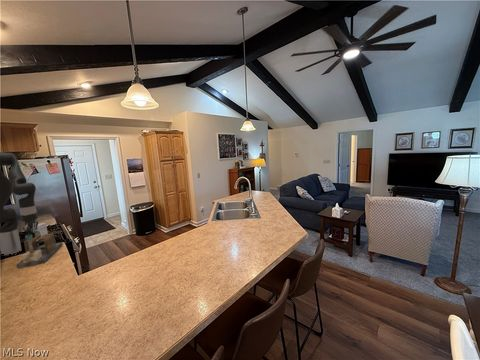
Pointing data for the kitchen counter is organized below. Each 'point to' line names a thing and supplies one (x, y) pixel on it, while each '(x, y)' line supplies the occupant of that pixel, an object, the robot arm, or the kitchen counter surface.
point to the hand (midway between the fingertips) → (33, 237)
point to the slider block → (31, 252)
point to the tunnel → (46, 249)
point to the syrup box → (41, 230)
